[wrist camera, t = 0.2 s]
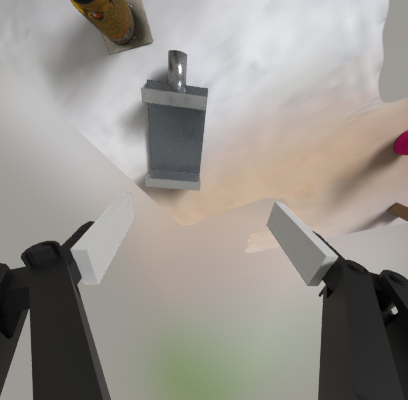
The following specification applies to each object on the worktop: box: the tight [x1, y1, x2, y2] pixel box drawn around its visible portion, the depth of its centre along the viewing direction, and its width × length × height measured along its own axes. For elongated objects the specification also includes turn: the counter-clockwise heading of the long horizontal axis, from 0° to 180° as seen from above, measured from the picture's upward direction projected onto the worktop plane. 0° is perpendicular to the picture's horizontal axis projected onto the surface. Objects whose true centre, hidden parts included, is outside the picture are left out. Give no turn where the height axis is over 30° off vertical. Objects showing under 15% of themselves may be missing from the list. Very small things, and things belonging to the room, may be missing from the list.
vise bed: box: [145, 80, 208, 191], centre depth 34 cm, size 20×12×7 cm, turn 174°
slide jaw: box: [141, 50, 207, 111], centre depth 29 cm, size 8×11×6 cm
